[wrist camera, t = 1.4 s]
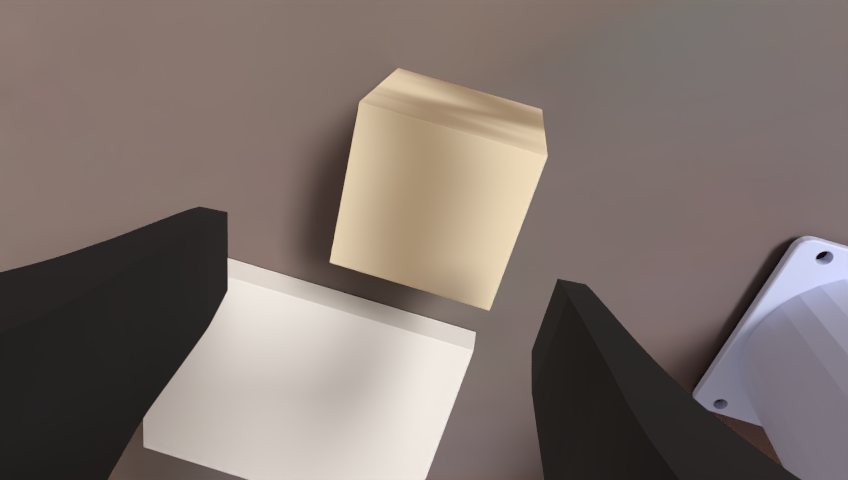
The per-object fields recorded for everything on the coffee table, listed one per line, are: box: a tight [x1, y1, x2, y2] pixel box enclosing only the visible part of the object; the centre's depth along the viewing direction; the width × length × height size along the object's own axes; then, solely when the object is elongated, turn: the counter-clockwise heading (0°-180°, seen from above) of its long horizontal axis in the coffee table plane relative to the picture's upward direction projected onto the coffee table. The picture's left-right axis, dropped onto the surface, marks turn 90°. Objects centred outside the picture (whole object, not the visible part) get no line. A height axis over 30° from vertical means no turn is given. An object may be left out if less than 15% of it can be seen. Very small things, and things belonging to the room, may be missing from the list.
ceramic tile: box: [143, 258, 476, 480], centre depth 25 cm, size 14×12×1 cm
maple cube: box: [330, 68, 548, 311], centre depth 17 cm, size 5×5×5 cm
